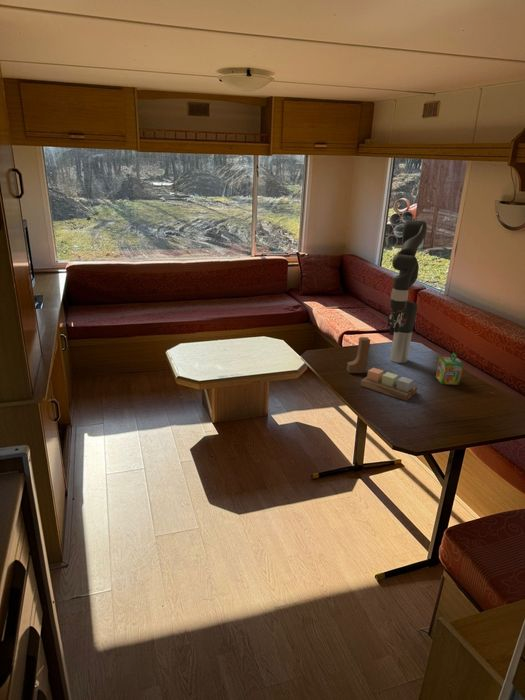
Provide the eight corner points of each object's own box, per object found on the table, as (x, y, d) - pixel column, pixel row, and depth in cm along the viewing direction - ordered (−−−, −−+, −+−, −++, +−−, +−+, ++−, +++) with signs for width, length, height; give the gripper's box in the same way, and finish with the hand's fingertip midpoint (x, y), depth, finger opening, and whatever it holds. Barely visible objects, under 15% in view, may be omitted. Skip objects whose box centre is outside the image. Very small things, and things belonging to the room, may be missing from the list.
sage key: (386, 381, 239) (387, 371, 237) (396, 384, 236) (398, 375, 234) (381, 384, 235) (382, 375, 233) (391, 388, 231) (393, 378, 230)
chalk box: (434, 377, 253) (440, 350, 248) (452, 377, 254) (458, 350, 248) (441, 384, 245) (446, 356, 239) (459, 385, 245) (465, 357, 240)
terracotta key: (371, 376, 243) (373, 367, 241) (382, 380, 240) (383, 370, 238) (366, 380, 239) (368, 370, 237) (377, 383, 236) (378, 373, 234)
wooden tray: (372, 378, 247) (372, 372, 246) (416, 392, 234) (417, 386, 233) (360, 385, 238) (361, 379, 237) (406, 400, 225) (407, 394, 224)
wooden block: (348, 373, 251) (353, 339, 245) (346, 369, 255) (350, 336, 249) (365, 373, 252) (370, 340, 246) (363, 369, 257) (367, 337, 250)
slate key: (400, 386, 234) (402, 376, 233) (411, 389, 231) (413, 379, 230) (395, 389, 230) (397, 379, 229) (407, 393, 227) (408, 383, 225)
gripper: (397, 294, 236) (392, 328, 242) (384, 299, 226) (379, 334, 232) (412, 297, 232) (407, 332, 238) (400, 302, 221) (394, 338, 227)
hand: (393, 333), depth 235 cm, fingers open, 4 cm apart
